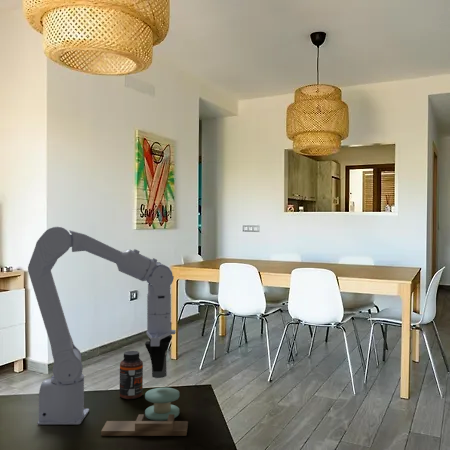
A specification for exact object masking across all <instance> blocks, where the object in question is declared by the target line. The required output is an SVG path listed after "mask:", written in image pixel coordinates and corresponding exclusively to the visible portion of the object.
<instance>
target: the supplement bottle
mask: <svg viewBox="0 0 450 450" xmlns="http://www.w3.org/2000/svg"><path fill="white" fill-rule="evenodd" d="M143 374H144V363H143V361H142V359H141V358H140V352H139V351H138V350H127V351H124V352H123V360H121V361H120V363H119V397H120V398H122V399H124V400H125V399H126V400H135V399H138V398H140V397H142V395H143V390H144V389H143V387H144V386H143V383H144V382H143V381H144V379H143V377H144V375H143Z"/></svg>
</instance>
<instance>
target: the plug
mask: <svg viewBox="0 0 450 450" xmlns="http://www.w3.org/2000/svg"><path fill="white" fill-rule="evenodd" d="M167 354H168V350H166V353H165V359H164V366H163V370H162V371H159V372H154V371H153V368H152V367H151V378H155V379H162V378H165V377H167V375H168V373H167V356H166V355H167Z"/></svg>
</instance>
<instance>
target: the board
mask: <svg viewBox="0 0 450 450" xmlns="http://www.w3.org/2000/svg"><path fill="white" fill-rule="evenodd" d="M188 426H189V421H188V420H175V418H174V414H169V416H168V420H166V421H155V420H145V413H144V414H138V415H137V417H136V419H135V420H106V422H105V423H104V426H103V427H102V429H101V430H100V432H101V433H100V436H102V437H103V436H104V437H105V436H107V437H109V436H113V437H114V436H117V437H120V436H123V437H127V436H128V437H129V436H130V437H134V436H135V437H136V436H137V437H139V436H140V437H142V436H143V437H144V436H145V437H150V436H151V437H154V436H156V437H157V436H159V437H161V436H162V437H164V436H165V437H170V436H171V437H174V436H175V437H176V436H177V437H179V436H180V437H184V436H185V437H186V436H187V435H188V434H187V433H188V428H189V427H188Z"/></svg>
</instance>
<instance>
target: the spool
mask: <svg viewBox="0 0 450 450" xmlns="http://www.w3.org/2000/svg"><path fill="white" fill-rule="evenodd" d="M179 398H180V391H179V390H178V389H176V388H172V387H156V388H152V389H149V390H147V391H146V392H145V394H144V399H145V400H146V401H147V402H149V403H153V405H150V406H148V407H147V408H146V409H145V410H144V417H145V418H146V419H148V420H150V421H167V420H168V416H169V414H174V419H175V418H177V417H179V415H180V408H179V407H178V406H177V405H174V404H172V403H173V402H175V401H177V400H179Z"/></svg>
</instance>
